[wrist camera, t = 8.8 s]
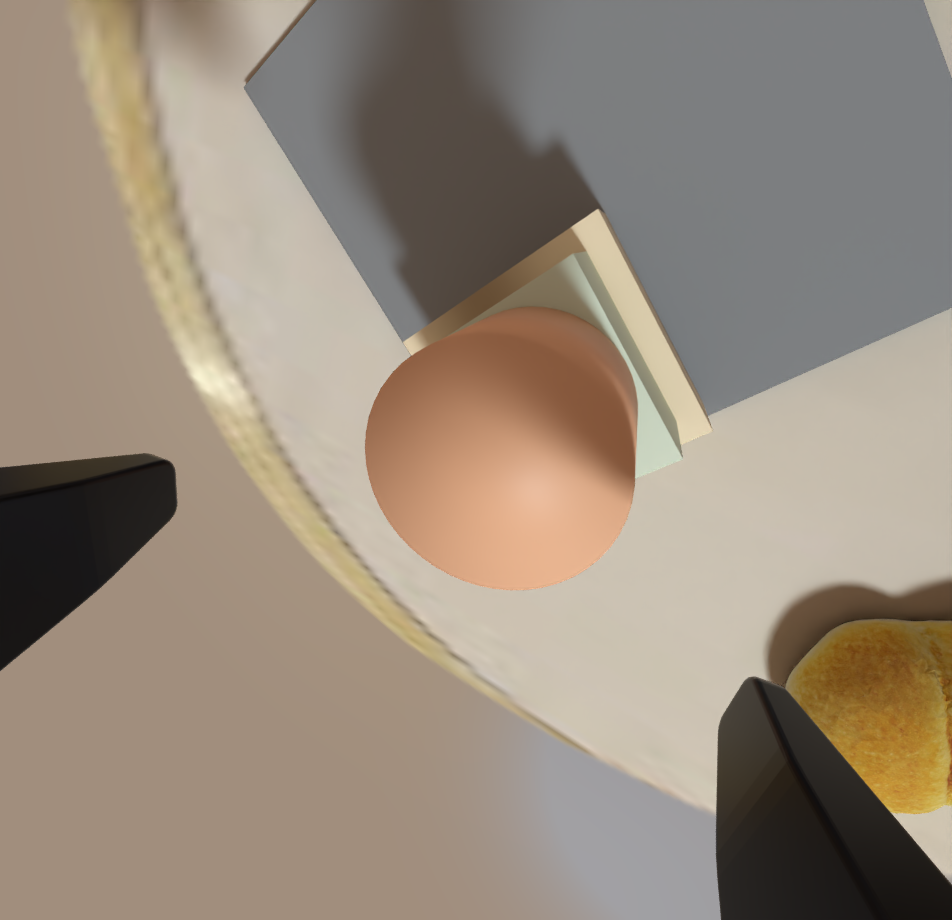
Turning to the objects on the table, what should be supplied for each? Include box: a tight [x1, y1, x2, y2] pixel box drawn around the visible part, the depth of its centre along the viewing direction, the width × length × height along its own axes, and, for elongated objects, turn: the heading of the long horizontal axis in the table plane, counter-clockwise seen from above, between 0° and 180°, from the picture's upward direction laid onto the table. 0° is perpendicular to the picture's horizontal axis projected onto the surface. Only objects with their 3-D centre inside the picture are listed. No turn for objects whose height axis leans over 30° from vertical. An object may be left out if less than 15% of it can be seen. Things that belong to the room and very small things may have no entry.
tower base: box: [403, 209, 713, 445], centre depth 17 cm, size 7×7×3 cm
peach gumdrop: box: [365, 306, 638, 590], centre depth 11 cm, size 5×5×4 cm
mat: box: [244, 0, 952, 415], centre depth 16 cm, size 17×18×1 cm
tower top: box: [393, 251, 683, 479], centre depth 15 cm, size 6×6×3 cm
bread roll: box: [785, 619, 952, 814], centre depth 18 cm, size 8×9×4 cm
